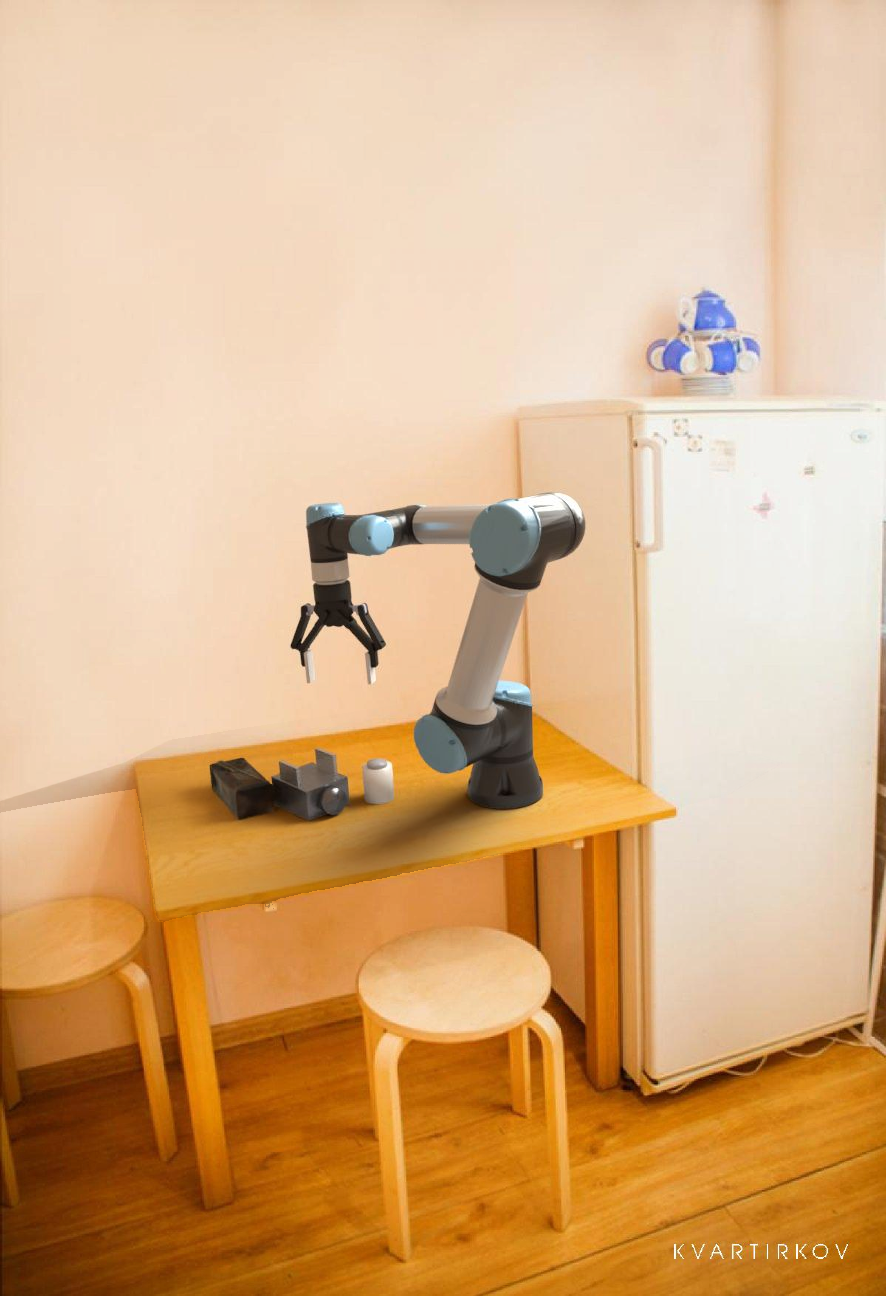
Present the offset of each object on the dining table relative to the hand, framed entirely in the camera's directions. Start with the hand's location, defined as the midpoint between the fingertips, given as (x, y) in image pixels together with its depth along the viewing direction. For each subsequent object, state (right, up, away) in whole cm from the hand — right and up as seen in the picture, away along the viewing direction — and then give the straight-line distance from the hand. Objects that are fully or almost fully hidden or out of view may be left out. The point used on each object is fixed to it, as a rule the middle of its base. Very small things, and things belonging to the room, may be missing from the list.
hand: (341, 682), depth 204 cm
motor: (-5, -24, -7) cm, 26 cm away
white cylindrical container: (+8, -23, -5) cm, 25 cm away
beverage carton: (-20, -25, -2) cm, 32 cm away
